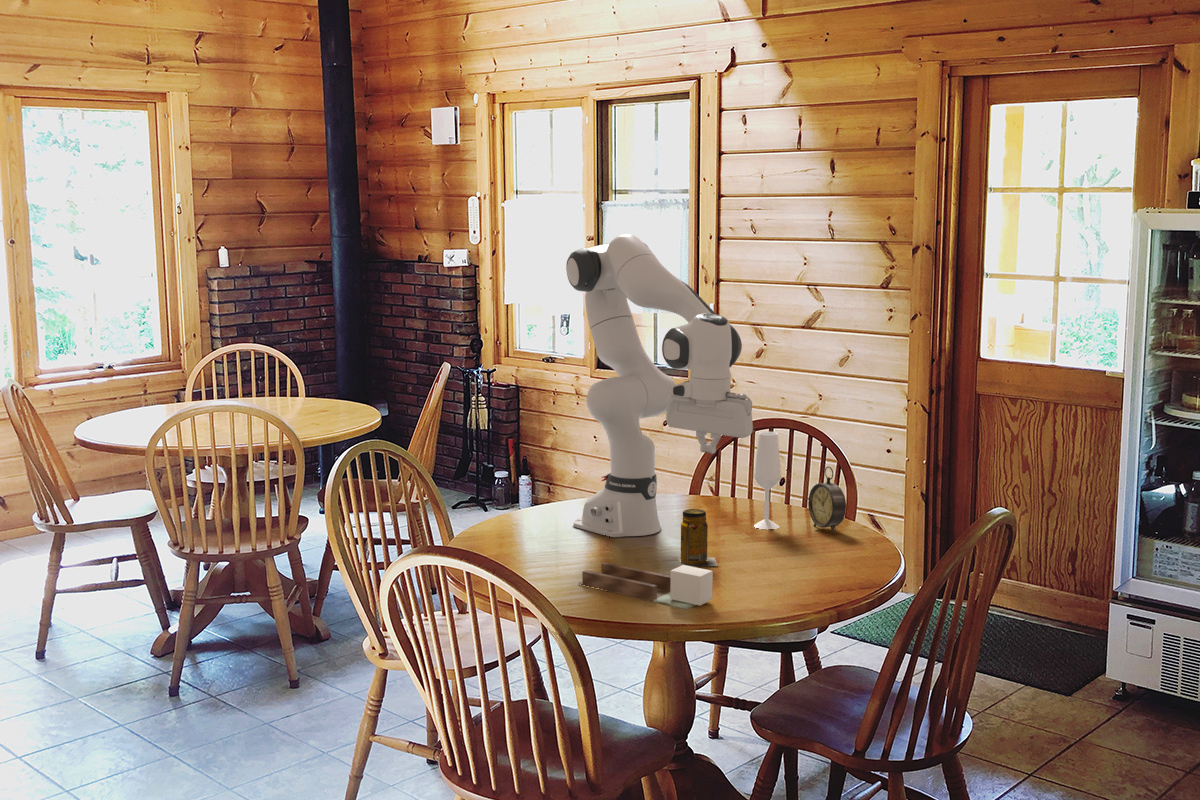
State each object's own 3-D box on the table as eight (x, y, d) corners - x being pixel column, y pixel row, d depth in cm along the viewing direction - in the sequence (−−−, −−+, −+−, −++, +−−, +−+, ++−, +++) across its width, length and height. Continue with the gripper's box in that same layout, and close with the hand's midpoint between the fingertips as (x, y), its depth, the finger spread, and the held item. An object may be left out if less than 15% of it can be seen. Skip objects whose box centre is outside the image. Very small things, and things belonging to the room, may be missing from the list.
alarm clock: (806, 525, 298) (807, 463, 296) (824, 523, 301) (826, 461, 298) (831, 536, 289) (832, 471, 286) (849, 534, 291) (851, 469, 288)
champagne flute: (749, 528, 296) (751, 434, 292) (756, 522, 302) (758, 430, 298) (776, 531, 293) (778, 436, 290) (782, 524, 300) (784, 432, 296)
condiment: (678, 558, 271) (678, 507, 269) (715, 558, 271) (715, 507, 269) (680, 567, 263) (680, 515, 262) (717, 567, 263) (718, 515, 261)
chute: (578, 585, 250) (578, 570, 250) (601, 575, 257) (601, 561, 257) (687, 609, 235) (687, 593, 234) (708, 598, 242) (708, 583, 241)
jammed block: (670, 599, 239) (670, 570, 238) (682, 593, 243) (683, 564, 242) (700, 605, 235) (700, 576, 234) (712, 599, 239) (712, 570, 238)
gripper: (759, 393, 250) (757, 456, 253) (678, 383, 262) (677, 443, 265) (744, 397, 245) (742, 461, 248) (662, 386, 257) (661, 448, 260)
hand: (708, 452), depth 256 cm, fingers closed
